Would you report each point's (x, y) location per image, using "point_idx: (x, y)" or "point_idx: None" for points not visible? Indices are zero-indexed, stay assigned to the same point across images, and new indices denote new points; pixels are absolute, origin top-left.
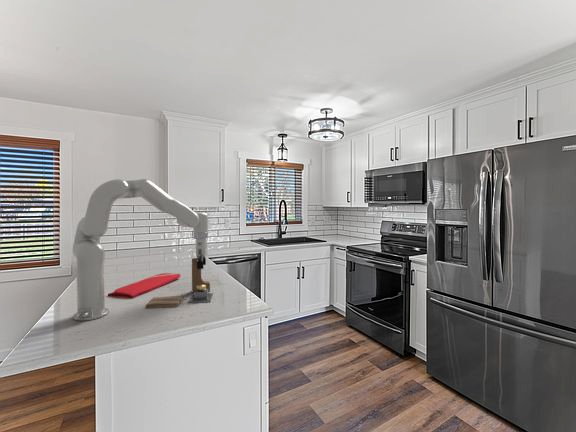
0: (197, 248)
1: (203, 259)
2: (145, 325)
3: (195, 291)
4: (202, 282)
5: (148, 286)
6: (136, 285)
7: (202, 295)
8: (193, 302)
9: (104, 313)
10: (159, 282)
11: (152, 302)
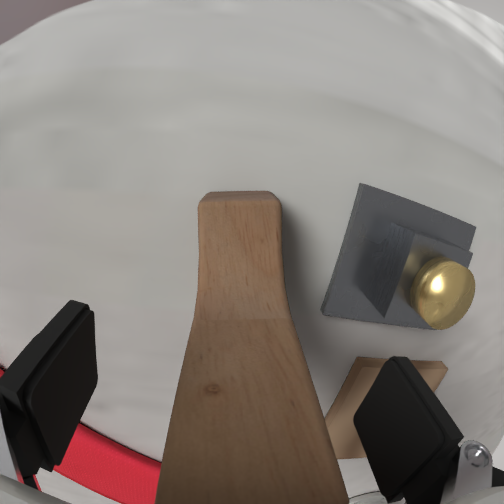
0: None
1: (52, 405)
2: (497, 401)
3: None
4: (283, 274)
5: (143, 476)
6: (132, 496)
7: None
8: None
9: (382, 495)
10: (80, 444)
11: None
